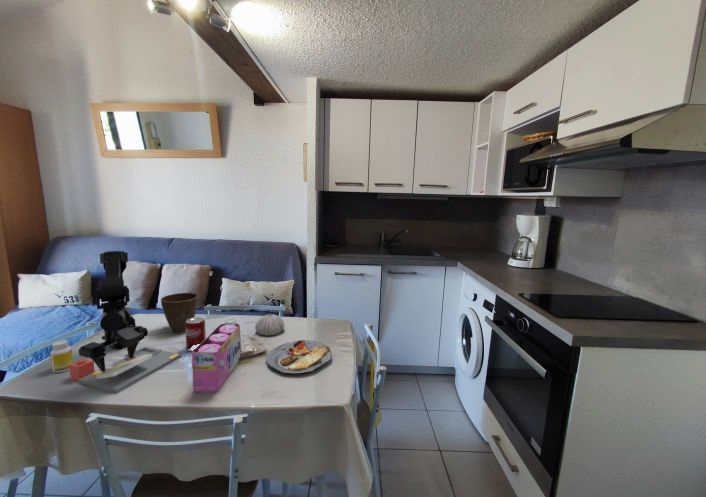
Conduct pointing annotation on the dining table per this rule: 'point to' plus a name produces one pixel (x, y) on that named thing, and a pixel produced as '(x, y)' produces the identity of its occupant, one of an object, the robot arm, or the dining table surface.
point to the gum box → (216, 358)
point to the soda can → (195, 331)
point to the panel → (130, 372)
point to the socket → (155, 351)
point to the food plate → (299, 356)
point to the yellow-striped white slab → (124, 366)
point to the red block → (81, 369)
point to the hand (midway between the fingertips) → (117, 364)
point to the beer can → (231, 322)
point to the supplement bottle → (61, 356)
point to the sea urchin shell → (269, 325)
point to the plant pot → (179, 309)
